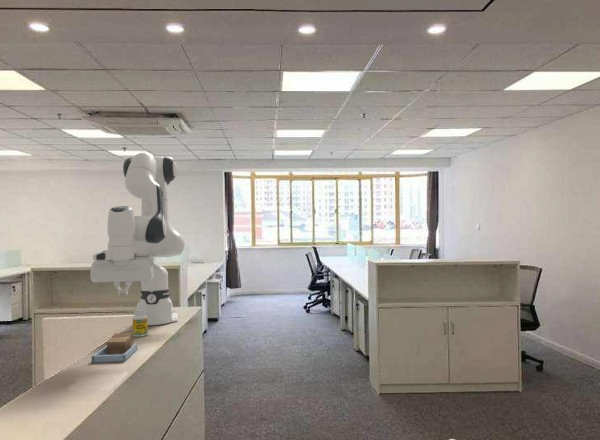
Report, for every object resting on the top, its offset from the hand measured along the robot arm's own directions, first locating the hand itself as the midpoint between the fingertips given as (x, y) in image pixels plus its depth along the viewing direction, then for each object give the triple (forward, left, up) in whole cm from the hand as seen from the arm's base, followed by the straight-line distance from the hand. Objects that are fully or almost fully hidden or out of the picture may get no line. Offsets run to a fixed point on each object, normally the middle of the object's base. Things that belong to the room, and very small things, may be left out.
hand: (123, 294), depth 154 cm
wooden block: (-1, 0, -15) cm, 15 cm away
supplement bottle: (-20, 0, -19) cm, 27 cm away
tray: (+8, 0, -18) cm, 20 cm away
